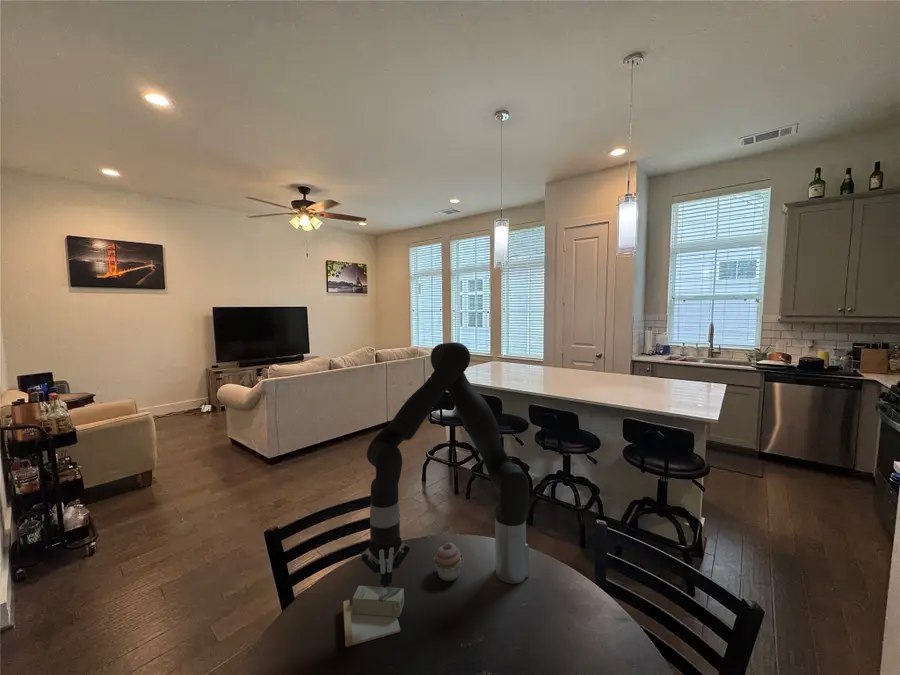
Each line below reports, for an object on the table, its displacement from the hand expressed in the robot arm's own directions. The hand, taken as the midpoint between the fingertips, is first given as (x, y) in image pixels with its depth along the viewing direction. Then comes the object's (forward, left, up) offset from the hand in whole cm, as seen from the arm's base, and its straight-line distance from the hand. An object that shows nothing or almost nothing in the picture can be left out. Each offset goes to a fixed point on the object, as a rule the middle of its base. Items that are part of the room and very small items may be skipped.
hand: (385, 584), depth 95 cm
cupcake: (-21, -11, -10) cm, 25 cm away
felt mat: (+3, -1, -9) cm, 10 cm away
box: (-5, -1, -7) cm, 8 cm away
